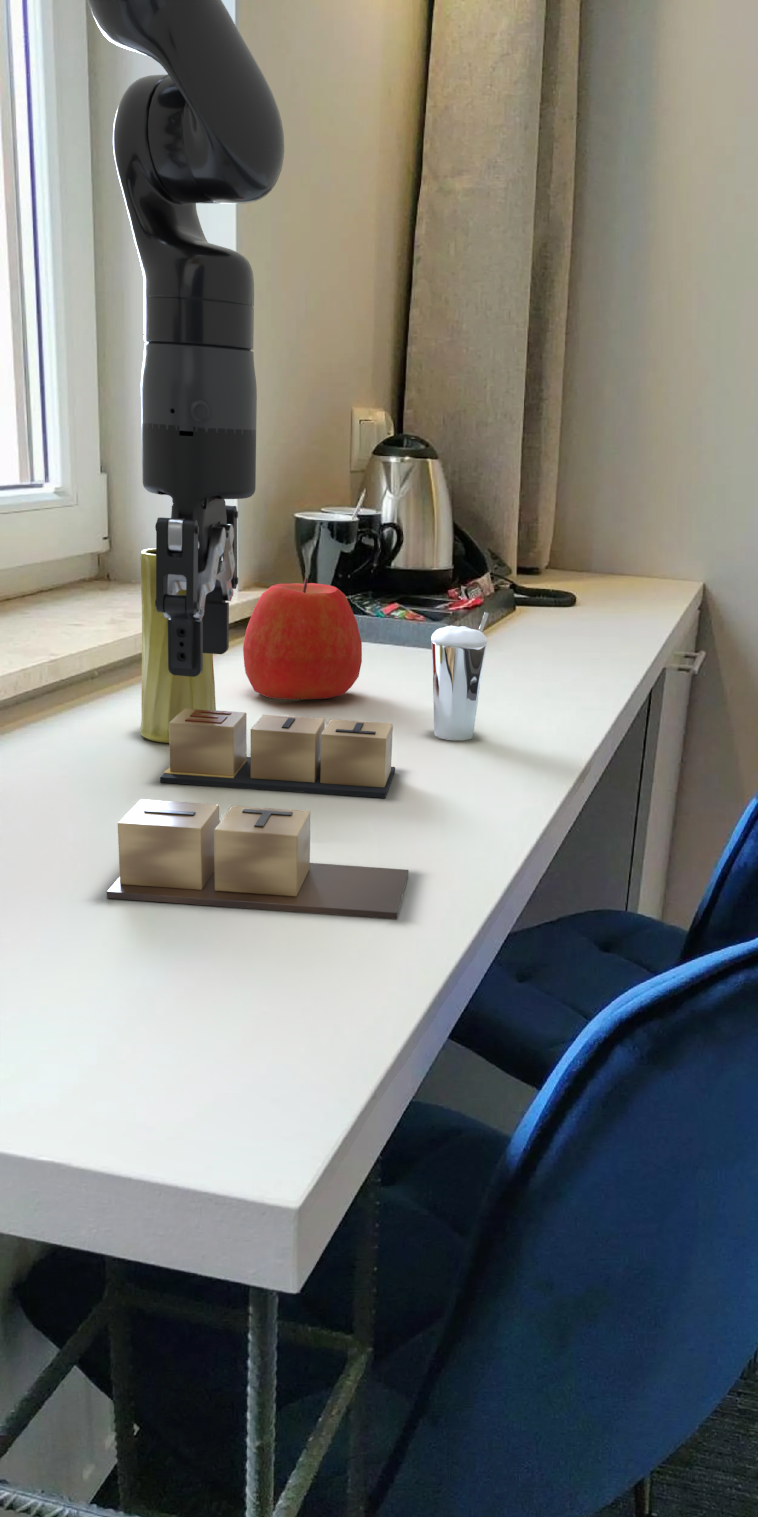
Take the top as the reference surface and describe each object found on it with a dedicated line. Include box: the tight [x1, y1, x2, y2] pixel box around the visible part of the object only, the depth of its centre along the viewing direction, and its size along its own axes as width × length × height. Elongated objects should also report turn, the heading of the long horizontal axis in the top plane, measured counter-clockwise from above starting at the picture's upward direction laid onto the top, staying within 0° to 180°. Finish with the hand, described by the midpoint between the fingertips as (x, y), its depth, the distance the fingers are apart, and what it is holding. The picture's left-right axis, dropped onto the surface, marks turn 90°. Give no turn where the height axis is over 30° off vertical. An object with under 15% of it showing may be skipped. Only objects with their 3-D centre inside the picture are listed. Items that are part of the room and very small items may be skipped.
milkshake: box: [430, 611, 490, 742], centre depth 110 cm, size 4×5×10 cm
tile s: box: [168, 708, 248, 776], centre depth 96 cm, size 5×5×4 cm
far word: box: [159, 714, 396, 799], centre depth 96 cm, size 16×7×4 cm, turn 87°
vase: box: [139, 547, 217, 744], centre depth 104 cm, size 6×6×14 cm
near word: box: [106, 798, 410, 920], centre depth 75 cm, size 16×7×4 cm, turn 87°
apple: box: [242, 577, 363, 701], centre depth 120 cm, size 11×11×11 cm
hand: (199, 663), depth 94 cm, fingers open, 8 cm apart
